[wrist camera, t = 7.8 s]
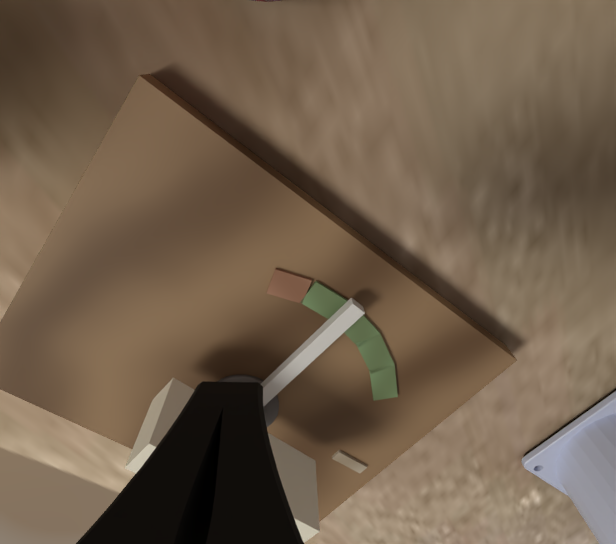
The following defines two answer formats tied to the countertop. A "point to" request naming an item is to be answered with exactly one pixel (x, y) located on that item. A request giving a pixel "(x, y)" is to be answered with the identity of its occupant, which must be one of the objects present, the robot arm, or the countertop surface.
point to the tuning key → (290, 462)
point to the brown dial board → (231, 302)
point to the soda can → (266, 0)
